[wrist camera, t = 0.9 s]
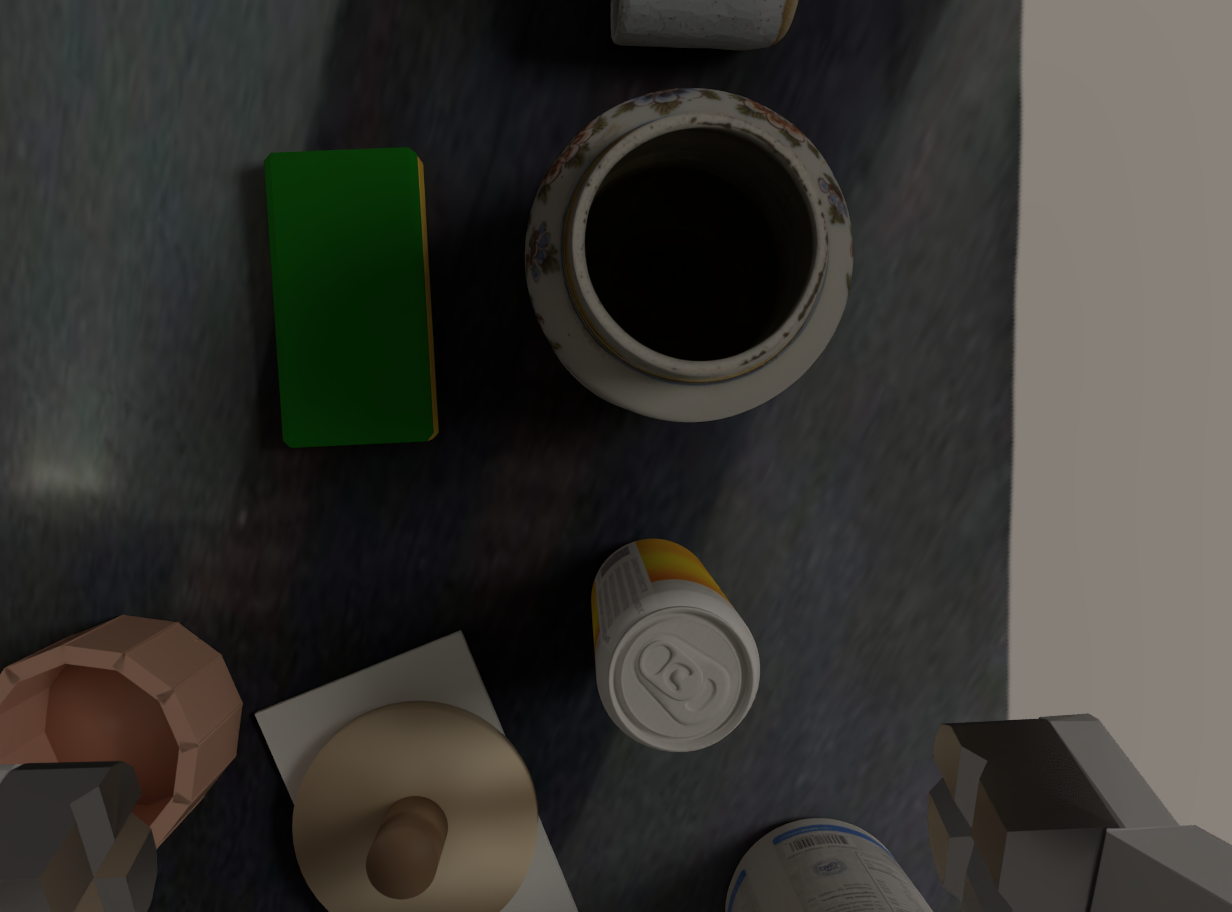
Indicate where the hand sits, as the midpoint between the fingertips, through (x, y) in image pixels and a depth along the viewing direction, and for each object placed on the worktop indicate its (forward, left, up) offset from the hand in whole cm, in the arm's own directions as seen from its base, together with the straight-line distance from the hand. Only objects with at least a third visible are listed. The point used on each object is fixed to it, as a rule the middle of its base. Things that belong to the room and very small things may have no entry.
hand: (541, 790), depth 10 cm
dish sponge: (+12, +7, -41) cm, 43 cm away
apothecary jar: (+7, -7, -41) cm, 42 cm away
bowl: (-3, +25, -41) cm, 47 cm away
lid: (-13, +14, -40) cm, 44 cm away
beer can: (-7, -1, -41) cm, 41 cm away
